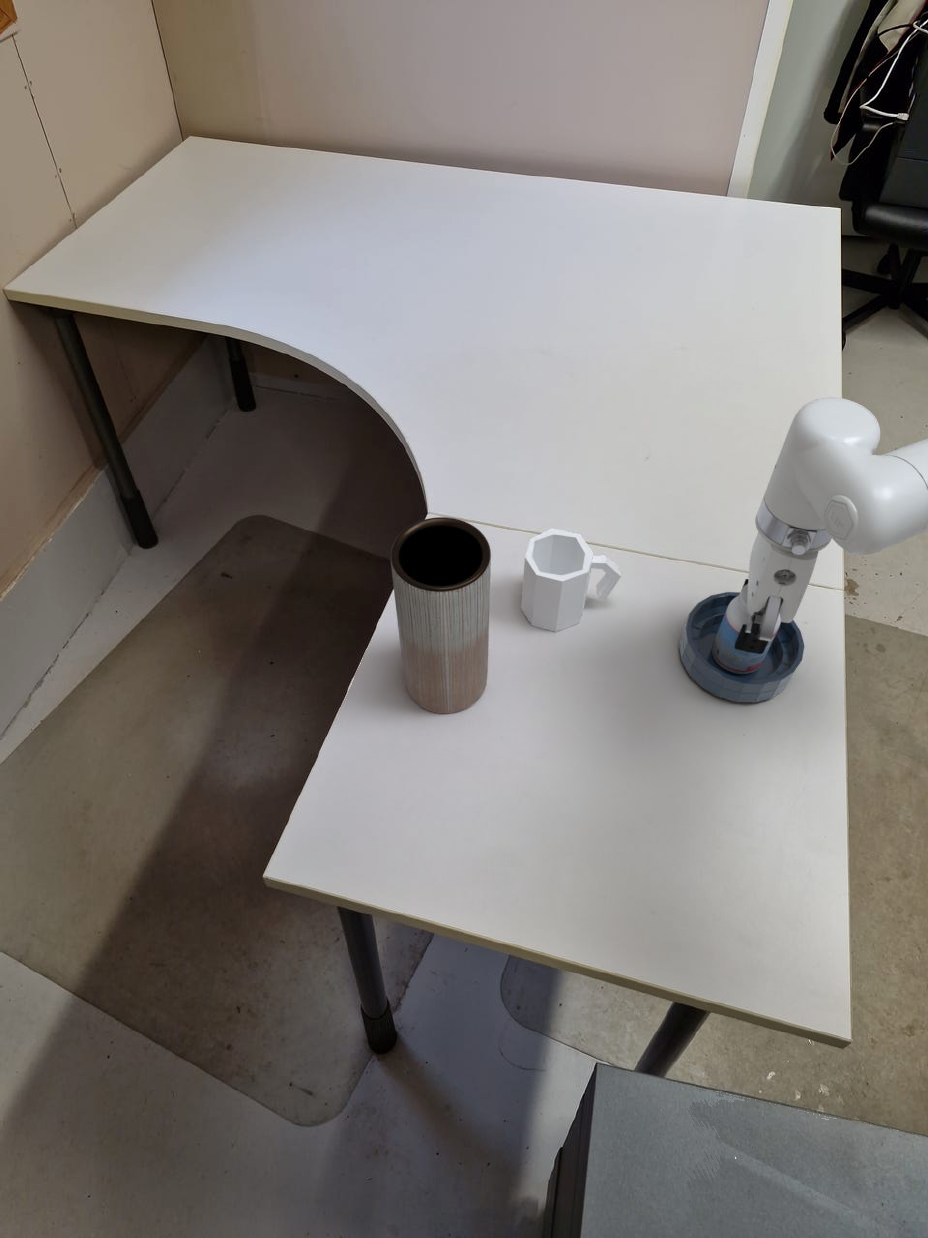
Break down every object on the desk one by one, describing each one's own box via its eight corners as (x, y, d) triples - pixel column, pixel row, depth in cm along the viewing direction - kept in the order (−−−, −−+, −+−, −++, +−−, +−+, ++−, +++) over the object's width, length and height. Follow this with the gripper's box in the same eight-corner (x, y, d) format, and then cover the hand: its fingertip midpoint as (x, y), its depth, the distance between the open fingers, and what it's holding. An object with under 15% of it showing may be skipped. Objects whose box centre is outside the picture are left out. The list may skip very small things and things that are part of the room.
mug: (524, 633, 103) (529, 583, 95) (517, 581, 108) (520, 529, 101) (619, 628, 104) (631, 577, 96) (607, 576, 109) (617, 524, 101)
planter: (391, 700, 97) (373, 574, 79) (423, 636, 103) (413, 505, 85) (470, 725, 95) (470, 602, 77) (498, 659, 101) (504, 529, 83)
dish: (758, 604, 106) (768, 582, 102) (813, 690, 98) (826, 669, 94) (661, 627, 104) (667, 605, 100) (708, 716, 96) (717, 695, 92)
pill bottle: (755, 683, 98) (783, 626, 89) (705, 665, 99) (727, 607, 90) (767, 646, 101) (795, 587, 92) (718, 629, 103) (741, 569, 94)
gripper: (838, 588, 76) (780, 694, 90) (835, 465, 86) (784, 578, 100) (755, 572, 77) (711, 680, 91) (762, 454, 87) (721, 567, 101)
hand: (749, 625), depth 95 cm, fingers closed on pill bottle, 6 cm apart
